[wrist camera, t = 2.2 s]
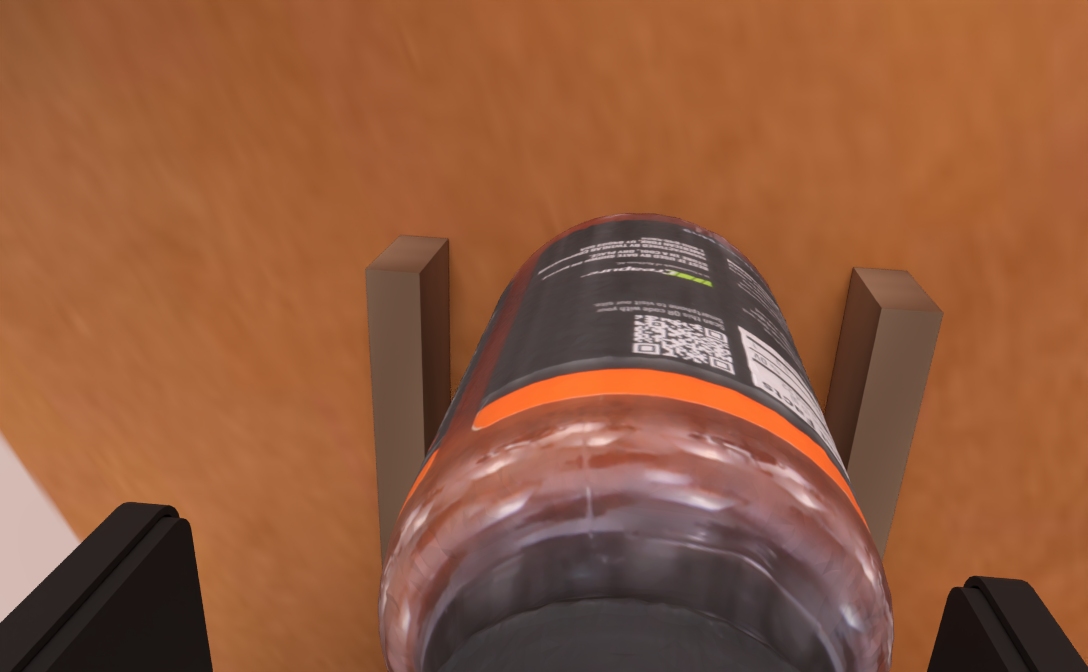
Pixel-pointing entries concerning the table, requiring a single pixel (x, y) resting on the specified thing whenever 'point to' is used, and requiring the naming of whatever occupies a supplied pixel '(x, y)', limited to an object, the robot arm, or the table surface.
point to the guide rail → (851, 413)
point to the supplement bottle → (634, 481)
